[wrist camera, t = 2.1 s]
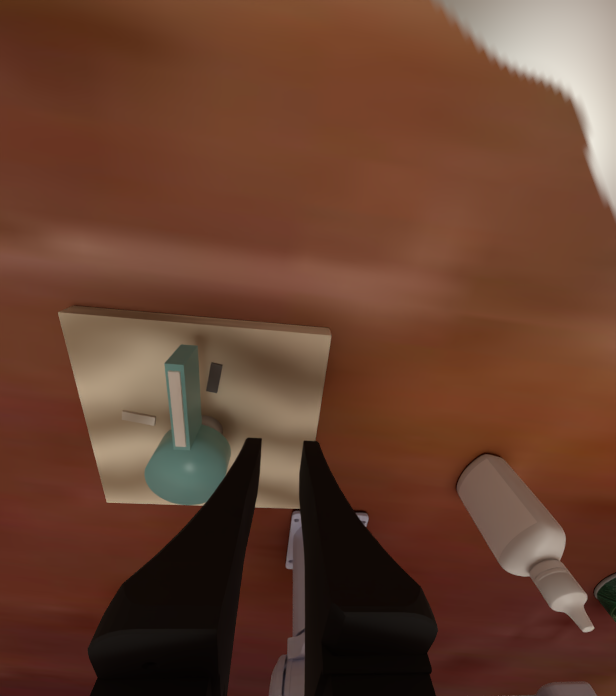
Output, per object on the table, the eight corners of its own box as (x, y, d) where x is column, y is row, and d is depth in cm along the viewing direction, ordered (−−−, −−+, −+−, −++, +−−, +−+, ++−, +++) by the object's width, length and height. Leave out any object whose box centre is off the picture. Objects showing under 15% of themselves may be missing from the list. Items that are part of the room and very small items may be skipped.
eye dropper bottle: (442, 476, 29) (532, 634, 18) (493, 446, 28) (624, 598, 17) (463, 497, 30) (557, 656, 19) (512, 470, 29) (644, 624, 18)
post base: (304, 495, 29) (305, 529, 26) (116, 488, 28) (92, 523, 24) (329, 327, 22) (335, 347, 19) (73, 305, 20) (32, 322, 17)
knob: (231, 476, 22) (223, 508, 20) (164, 474, 22) (148, 505, 20) (230, 348, 18) (221, 369, 15) (146, 341, 17) (123, 361, 15)
